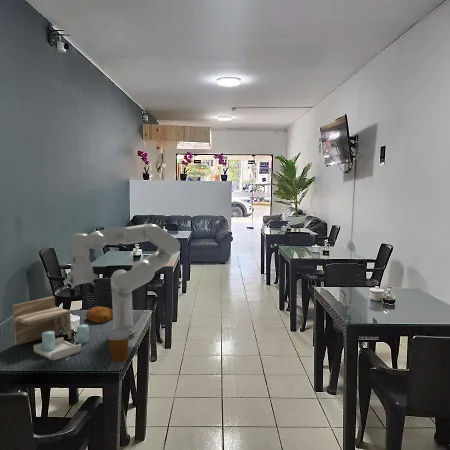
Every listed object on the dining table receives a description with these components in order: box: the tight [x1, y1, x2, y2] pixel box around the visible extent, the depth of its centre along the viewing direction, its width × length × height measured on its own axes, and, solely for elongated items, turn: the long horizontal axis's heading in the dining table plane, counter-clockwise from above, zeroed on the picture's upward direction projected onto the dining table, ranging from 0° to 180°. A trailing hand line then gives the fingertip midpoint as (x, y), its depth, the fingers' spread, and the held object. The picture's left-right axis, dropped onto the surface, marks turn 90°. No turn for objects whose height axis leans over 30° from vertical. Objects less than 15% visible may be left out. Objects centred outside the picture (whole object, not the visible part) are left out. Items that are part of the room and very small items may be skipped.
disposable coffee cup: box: [106, 328, 131, 363], centre depth 181 cm, size 10×10×12 cm
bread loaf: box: [85, 306, 113, 324], centre depth 237 cm, size 14×16×8 cm
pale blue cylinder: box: [76, 323, 90, 345], centre depth 203 cm, size 5×5×8 cm
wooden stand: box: [12, 295, 72, 346], centre depth 202 cm, size 15×20×19 cm
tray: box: [33, 331, 83, 362], centre depth 191 cm, size 16×14×8 cm
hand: (82, 294), depth 206 cm, fingers open, 9 cm apart
